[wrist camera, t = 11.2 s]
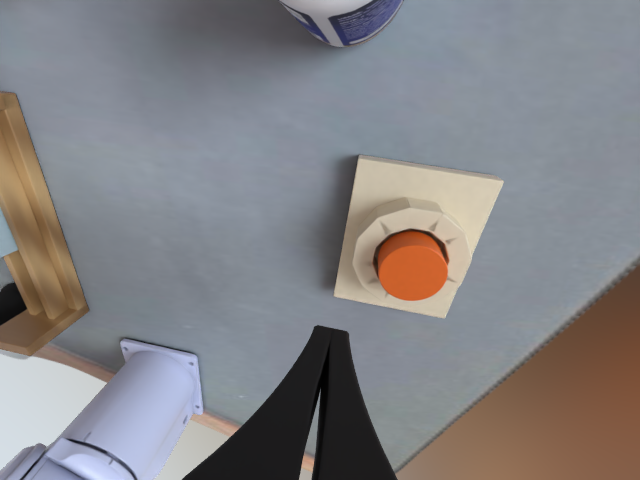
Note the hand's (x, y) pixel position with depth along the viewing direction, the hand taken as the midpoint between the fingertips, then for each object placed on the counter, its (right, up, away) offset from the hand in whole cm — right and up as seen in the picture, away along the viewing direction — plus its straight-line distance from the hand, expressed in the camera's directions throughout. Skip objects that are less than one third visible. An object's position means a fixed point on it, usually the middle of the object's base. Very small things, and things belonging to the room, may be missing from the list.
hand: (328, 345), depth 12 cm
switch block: (+5, +4, +7) cm, 10 cm away
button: (+5, +3, +5) cm, 8 cm away
